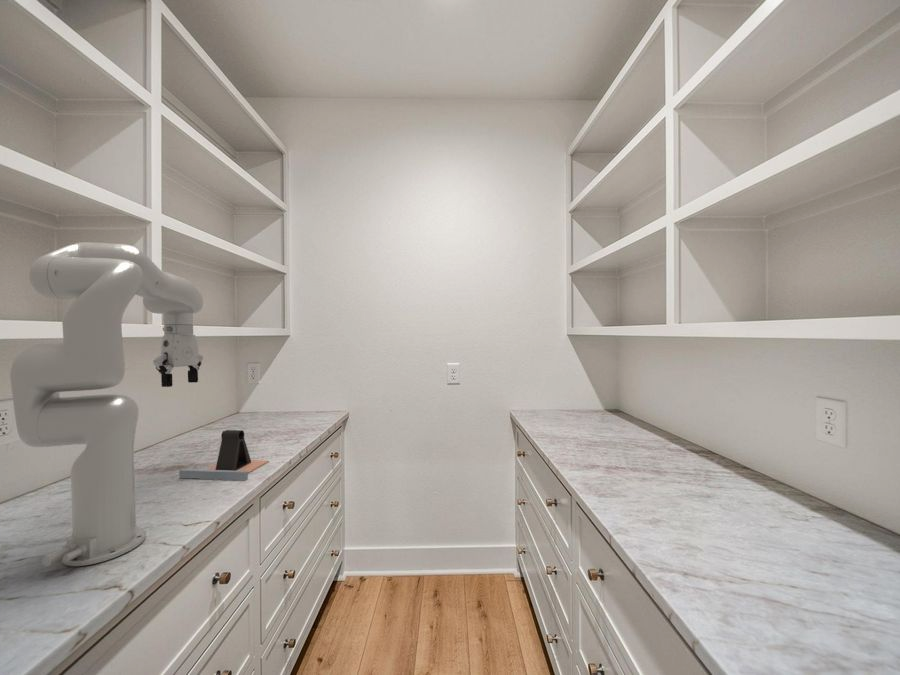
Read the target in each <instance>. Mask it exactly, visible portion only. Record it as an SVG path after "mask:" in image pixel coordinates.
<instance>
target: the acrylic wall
mask: <svg viewBox="0 0 900 675" xmlns="http://www.w3.org/2000/svg"><path fill="white" fill-rule="evenodd" d="M248 474H249V473H248V471H231V470H205V469H197V468H196V469H195V468H194V469H193V468H182V469H179V470H178V478H199V479H198V480H208V479H218V480H217V481H236V480H240V482H244V481H247V480H249V475H248ZM219 479H220V480H219Z"/></svg>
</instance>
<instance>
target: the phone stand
mask: <svg viewBox="0 0 900 675" xmlns="http://www.w3.org/2000/svg"><path fill="white" fill-rule="evenodd" d="M220 437H221V441H220V442H221V443H220V447H219V451H218V457H217V461H216V464H217V465H216V464H215V465H216V469H215V470H231V471H236V470H238V469H240V468H242V467H244V466H246V465H248V464H249V463H251V460H252V459H251V456H250V453H249V450H248V447H247V443H246V440H245V431H244V430H234V429H233V430H232V429H226V430H223V431H222V432H221V436H220Z"/></svg>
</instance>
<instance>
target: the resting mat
mask: <svg viewBox="0 0 900 675" xmlns="http://www.w3.org/2000/svg"><path fill="white" fill-rule="evenodd" d="M269 462H270V461H269V460H257V459H256V460H255V459H253V460H252V459H251V463H249V464H248V465H246V466H244V467H242V468H240V469H238V470H236V471H248V474H251V473H252V472H254V471H255V470H257V469H259V468H261V467H263V466H265V465H266V464H268V463H269ZM216 465H217V463H216V464H214V465H212V466H210V467H208V468H205V469H204V470H215V469H216Z"/></svg>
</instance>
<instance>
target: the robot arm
mask: <svg viewBox="0 0 900 675" xmlns="http://www.w3.org/2000/svg"><path fill="white" fill-rule="evenodd" d="M28 278H29V282H30V285H31V286H32V288H33V289H34V290H35V291H36V292H37V293H38V294H40V295H41V296H44V297H46V298H50V299H59V300H61V299H62V300H68V299H69V300H74V301H72V303H71V304H70V305H69V306H68V307H67V309H66V311H65V312H64V314H63V316H62V322H61V325H62V337H63V339H62V343H40V344H34V345H29V346H27V347H24V348H23V349H21V350H20V351H18V353H17V354H16V355H15V357H14V359H12V360H13V361H12V363H11V366H10V374H9V377H10V388H11V389H10V390H11V395H12V396H11V397H12V403H13V411H14V419H15V420H14V421H15V426H16V430H17V434H18V437H19V439H20V440H21V442H23V443H24V444H25V445H27V446H29V447H32V448H50V447H61V446H73V445H86V446H85V448H84V450H83V451H82V452H81V453H80V454H79V455H78V457H77V458H76V459H75V461H73V463H72V466H71V469H70V490H71V492H70V497H71V498H70V499H71V520H72V521H71V522H72V523H71V525H72V535H71V536H69V537H67V538H66V539H65V541H66V542H65V544H64V545H63V546H62V547H61V548H60V549H58V550H56V551H55V550H54V551H53V552H51V553H49V554H47V555H45V556H44V557H42V561H41V562H42V565H43V566H44V567H50V566H52V565H54V564H56V563H58V562H59V561H61V562H62V564H64V565H65V566H69V567H84V566H85V567H86V566H89V565H90V566H91V565H95V564H98V563H103V562H107V561H109V560H111V559H115V558H117V557H120V556H121V555H125V554H126V553H128V552H130V551H132V550H134V549H135V548H136V547H139V545H141V544H142V543H143V542H144V541H145V539H146V535H147V533H146V530H145V529H144V528H143V527H138V526H137V515H136V486H135V485H136V482H135V438H136V432H137V426H138V419H139V407H138V406H139V405H138V404H137V403H136V401H135V400H134V399H133V398H131V397H128V396H126V395H123V394H93V395H80V396H64V397H63V396H62V397H60V393H61V392H62V393H63V392H80V391H81V392H82V391H95V390H103V389H110V388H113V387H115V386H117V385H119V384H120V383H121V382H122V381H123V380H124V377H125V370H126V368H125V353H124V352H125V350H124V341H123V329H122V321H123V316H124V313H125V311H126V309H127V307H128V306H129V304H130V302H131V301H132V299H133V298H134V297H135V296H139V297H142V304H143V306H144V308H145V309H146V310H147V311H148V312H151V313H153V314H159V315H160V314H162V315H163V327H162V331H163V334H164V335H162V341H161V346H160V347H161V348H160V350H161V351H160V356H158V357H156V358H155V359H153V360H152V362H153V364H154V366H155V369H156V370H157V371H158V374H160V377H161V378H160V379H161V380H160V381H161V382H160V383H161V387H162V388H163V387H164V388H166V387H167V388H170V387H173V385H174V384H173V374H172V373H171V372H172V371H173V369H174V368H176V367H177V368H178V367H179V368H180V367H181V368H182V367H187V368H188V370H187V382H188V383H199V370H200V367H201V366H202V362H203V358H204V357H203V355H201V354H200V353H199V345H198V339H197V337H196V334H194V314H197V313H199V312H200V311H201V310H202V309H203V306H204V298H203V295H202V293H201V292H200V289H199V288H198V287H197V286H196V285H195V283H194V282H191V280H189V279H186V278H183V277H181V276H179V275H175V274H173V273H169V272H167V271H165V270H164V271H163V270H161V269H160V267H158V265H156V264H155V262H153V261H152V259H151V258H150V257H149V256H148V255H147V254H146V253H145V252H144V251H143V250H141V249H140V248H138V247H136V246H134V245H131V244H126V243H110V242H93V241H92V242H88V241H83V242H82V241H81V242H75V243H71V244H69V245H68V244H67V245H66V246H63V247H60V248H58V249H56V250H54V251H51V252H49V253H47V254H43V255H42V256H40V257H38V258H37V259H36V260H35V261H33V263H32V265H31V266H30V269H29V274H28Z"/></svg>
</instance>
